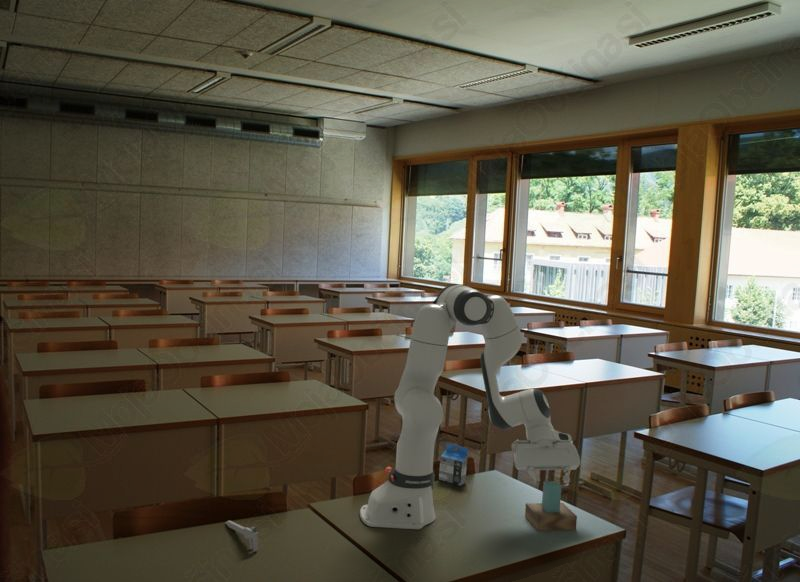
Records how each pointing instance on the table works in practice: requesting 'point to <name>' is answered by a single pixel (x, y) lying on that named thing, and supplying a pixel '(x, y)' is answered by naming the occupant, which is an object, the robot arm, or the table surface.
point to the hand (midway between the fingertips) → (552, 482)
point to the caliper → (246, 534)
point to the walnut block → (550, 517)
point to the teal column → (551, 496)
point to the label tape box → (453, 465)
